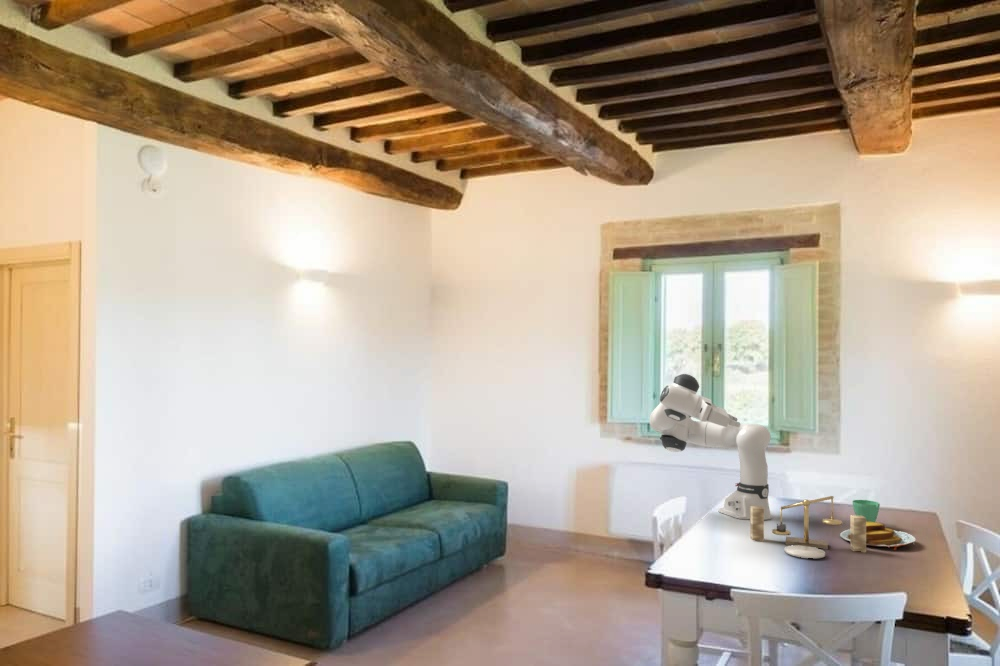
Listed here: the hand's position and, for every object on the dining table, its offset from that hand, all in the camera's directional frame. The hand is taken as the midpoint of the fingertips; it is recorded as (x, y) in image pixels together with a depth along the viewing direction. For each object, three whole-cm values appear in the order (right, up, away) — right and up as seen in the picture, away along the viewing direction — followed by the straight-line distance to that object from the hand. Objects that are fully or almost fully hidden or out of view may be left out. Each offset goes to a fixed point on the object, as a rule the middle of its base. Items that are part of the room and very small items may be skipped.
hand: (738, 422), depth 269 cm
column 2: (+38, -44, -15) cm, 60 cm away
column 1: (+7, -44, -1) cm, 44 cm away
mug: (+60, -45, +23) cm, 78 cm away
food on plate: (+51, -45, -2) cm, 68 cm away
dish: (+16, -43, -21) cm, 51 cm away
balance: (+22, -44, -8) cm, 50 cm away
